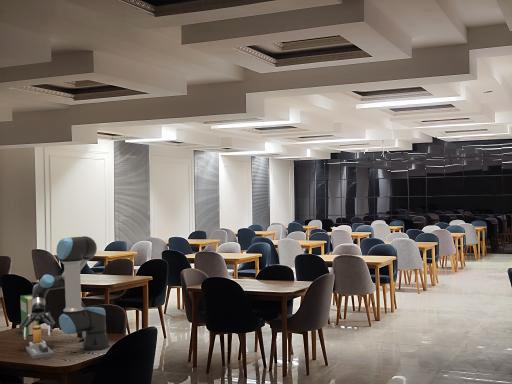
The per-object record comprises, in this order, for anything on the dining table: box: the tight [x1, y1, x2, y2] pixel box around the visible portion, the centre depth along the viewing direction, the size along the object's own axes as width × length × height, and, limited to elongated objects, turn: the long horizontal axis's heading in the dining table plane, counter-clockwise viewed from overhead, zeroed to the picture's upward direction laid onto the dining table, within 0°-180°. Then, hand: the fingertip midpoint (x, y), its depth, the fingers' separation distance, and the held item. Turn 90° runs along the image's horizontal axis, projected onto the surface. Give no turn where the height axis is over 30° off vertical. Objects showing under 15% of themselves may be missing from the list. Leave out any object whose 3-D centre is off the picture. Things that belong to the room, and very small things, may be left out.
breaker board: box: [25, 339, 55, 360], centre depth 375 cm, size 26×11×6 cm, turn 28°
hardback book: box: [19, 294, 40, 337], centre depth 434 cm, size 18×7×24 cm, turn 31°
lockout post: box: [32, 324, 43, 344], centre depth 382 cm, size 4×4×12 cm
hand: (36, 337), depth 380 cm, fingers open, 13 cm apart
